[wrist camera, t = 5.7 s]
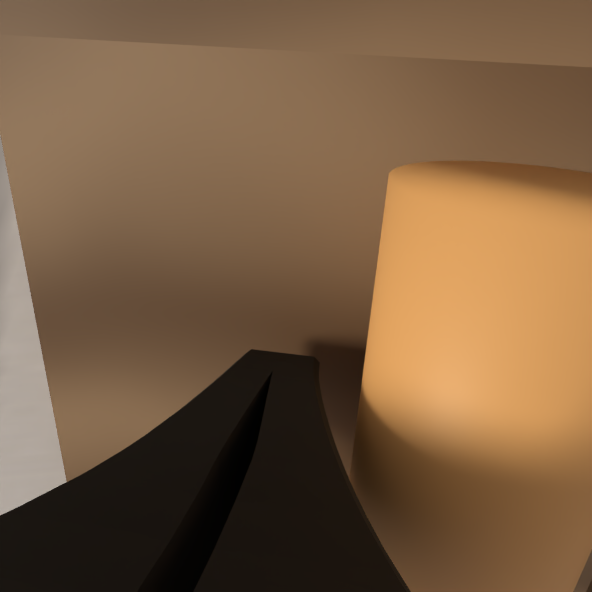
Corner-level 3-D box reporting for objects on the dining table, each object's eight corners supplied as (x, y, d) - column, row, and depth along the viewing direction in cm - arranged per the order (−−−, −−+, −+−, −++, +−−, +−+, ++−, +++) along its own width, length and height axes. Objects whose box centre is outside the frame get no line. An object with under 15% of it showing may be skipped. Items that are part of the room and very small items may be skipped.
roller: (387, 510, 13) (553, 606, 11) (293, 636, 10) (497, 802, 8) (451, 152, 9) (728, 192, 7) (331, 184, 6) (747, 272, 4)
